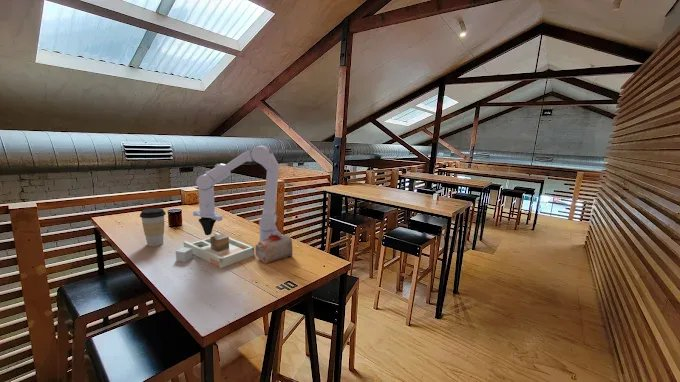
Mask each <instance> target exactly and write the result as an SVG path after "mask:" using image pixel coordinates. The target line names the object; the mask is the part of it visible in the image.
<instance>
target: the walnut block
mask: <svg viewBox="0 0 680 382" xmlns="http://www.w3.org/2000/svg"><path fill="white" fill-rule="evenodd" d="M209 238H210V240H211V249H213V250H215V251H217V252H219V251H222V250H225V249H228V248H229V238H230V236H228V235H225V234H223V233H219V235H216V236H215V235H214V236H213V235H212V236H210V237H209Z"/></svg>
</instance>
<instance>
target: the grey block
mask: <svg viewBox="0 0 680 382" xmlns="http://www.w3.org/2000/svg"><path fill="white" fill-rule="evenodd" d="M193 255H194V254H193V252H192V248H186V247H184V246H183V247H181V248H179V249H177V250H175V260H176V261H177V262H182V263H186V262H189V261H190V260H192V259H194V256H193Z"/></svg>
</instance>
